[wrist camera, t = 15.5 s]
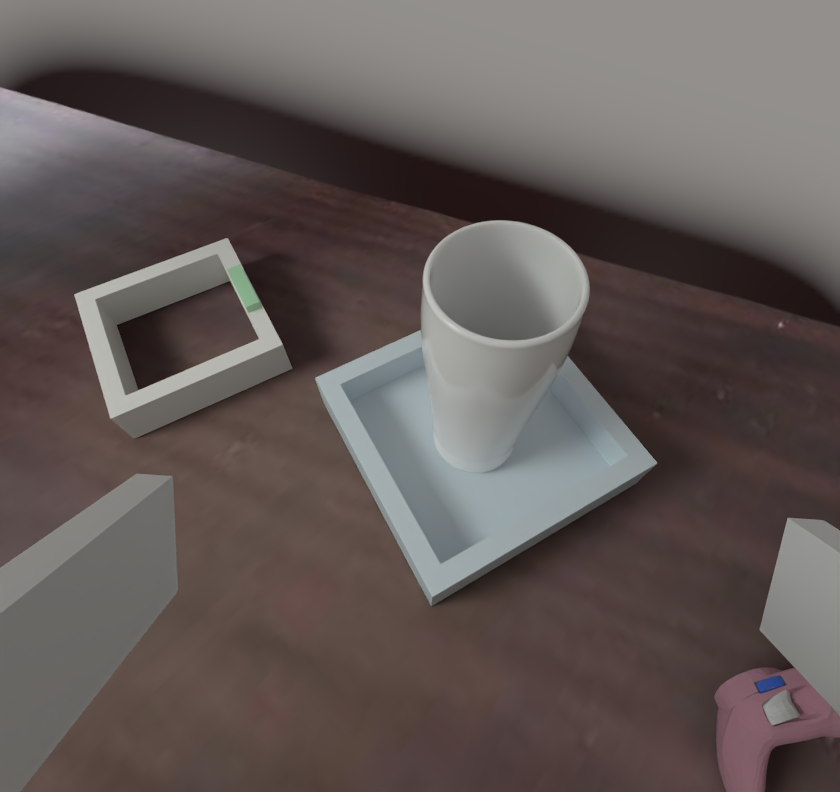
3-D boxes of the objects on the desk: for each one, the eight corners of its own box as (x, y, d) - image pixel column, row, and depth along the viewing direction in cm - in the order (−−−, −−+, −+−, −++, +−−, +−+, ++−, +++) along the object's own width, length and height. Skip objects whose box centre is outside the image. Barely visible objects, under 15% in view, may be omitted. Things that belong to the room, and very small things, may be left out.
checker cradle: (97, 320, 40) (69, 288, 36) (239, 265, 42) (224, 231, 39) (134, 438, 35) (105, 414, 31) (292, 368, 37) (280, 339, 34)
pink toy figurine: (850, 690, 29) (908, 616, 25) (927, 787, 25) (1010, 719, 21) (679, 721, 28) (711, 650, 24) (732, 825, 24) (780, 761, 20)
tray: (324, 404, 36) (314, 378, 33) (504, 319, 39) (511, 288, 36) (431, 606, 29) (432, 597, 26) (635, 483, 33) (657, 463, 30)
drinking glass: (502, 505, 31) (560, 374, 18) (402, 459, 33) (390, 307, 20) (540, 416, 34) (614, 248, 21) (447, 377, 36) (462, 198, 23)
